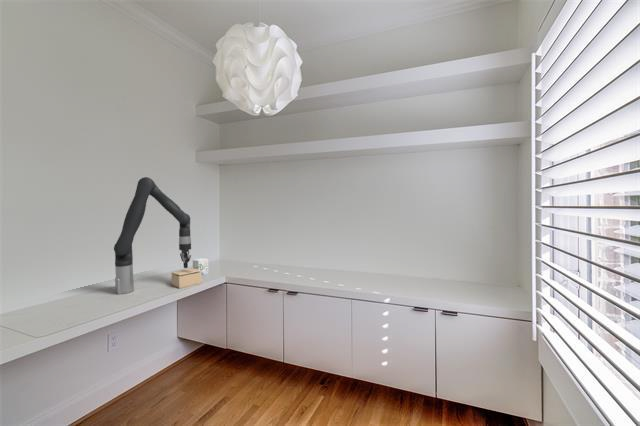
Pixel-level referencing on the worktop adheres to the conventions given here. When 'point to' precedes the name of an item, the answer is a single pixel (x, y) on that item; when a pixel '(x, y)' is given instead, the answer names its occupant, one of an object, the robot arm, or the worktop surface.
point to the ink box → (201, 265)
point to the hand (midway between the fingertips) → (185, 267)
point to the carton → (187, 279)
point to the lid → (185, 271)
